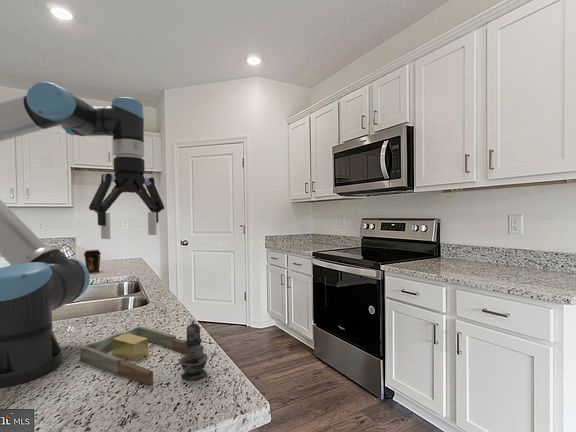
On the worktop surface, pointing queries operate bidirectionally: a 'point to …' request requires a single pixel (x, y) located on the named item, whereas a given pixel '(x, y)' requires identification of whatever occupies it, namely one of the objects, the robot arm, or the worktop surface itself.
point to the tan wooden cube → (135, 347)
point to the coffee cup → (92, 261)
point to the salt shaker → (193, 355)
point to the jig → (113, 364)
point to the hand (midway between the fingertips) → (130, 236)
